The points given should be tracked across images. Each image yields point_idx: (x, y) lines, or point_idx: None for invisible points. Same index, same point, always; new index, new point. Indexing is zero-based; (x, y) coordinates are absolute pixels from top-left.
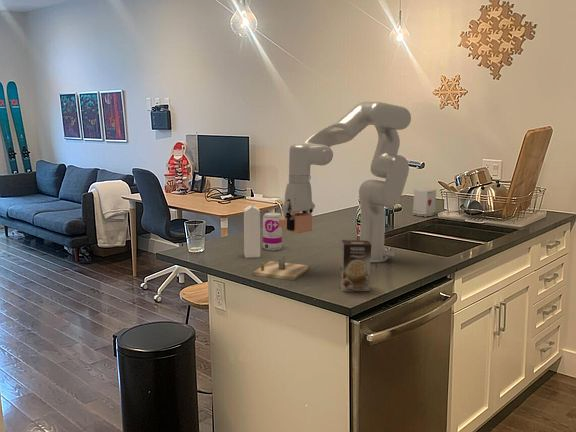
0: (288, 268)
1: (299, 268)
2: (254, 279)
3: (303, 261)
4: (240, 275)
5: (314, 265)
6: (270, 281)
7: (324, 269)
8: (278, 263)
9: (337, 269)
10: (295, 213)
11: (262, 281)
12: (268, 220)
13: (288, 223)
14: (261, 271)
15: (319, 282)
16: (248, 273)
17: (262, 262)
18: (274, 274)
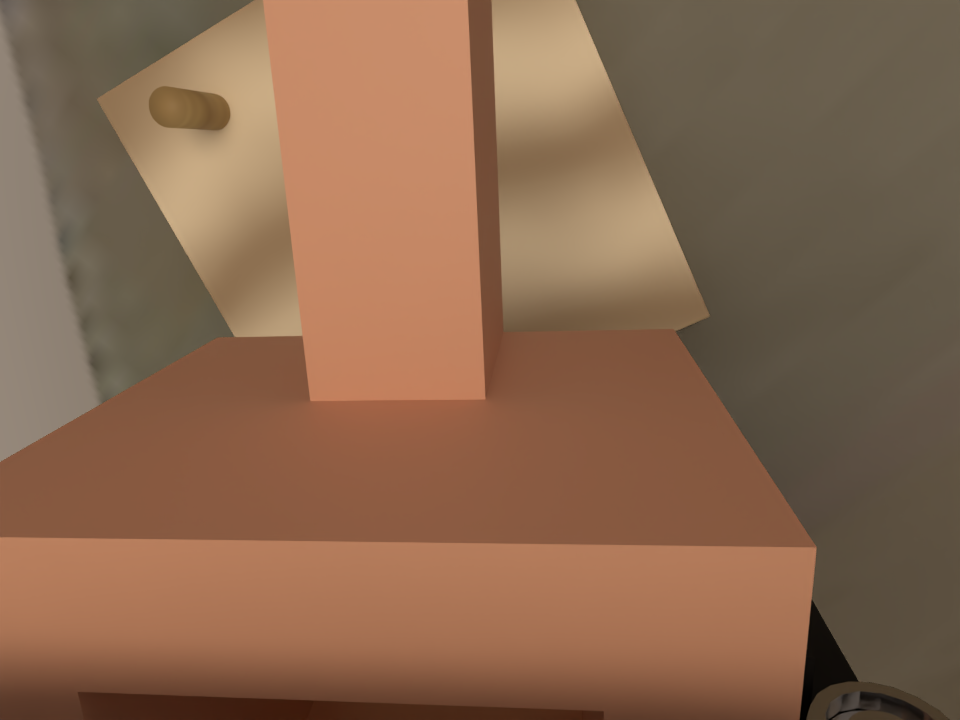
0: None
1: (547, 322)
2: (71, 220)
3: (901, 34)
4: (19, 21)
5: (844, 253)
6: (155, 357)
7: (791, 424)
8: (511, 9)
9: (882, 506)
10: (413, 693)
11: (100, 312)
12: None
13: None
14: (179, 144)
15: None
16: (115, 15)
17: (159, 118)
18: (226, 310)
